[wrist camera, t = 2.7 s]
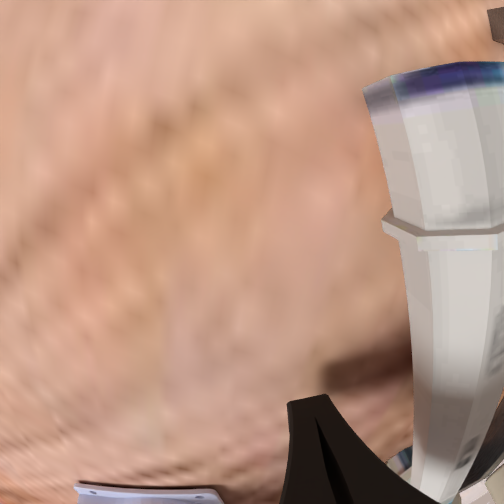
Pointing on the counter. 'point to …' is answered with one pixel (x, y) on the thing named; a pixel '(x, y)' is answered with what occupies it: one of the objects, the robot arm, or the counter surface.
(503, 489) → the travel mug
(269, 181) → the counter surface
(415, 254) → the white handheld device
